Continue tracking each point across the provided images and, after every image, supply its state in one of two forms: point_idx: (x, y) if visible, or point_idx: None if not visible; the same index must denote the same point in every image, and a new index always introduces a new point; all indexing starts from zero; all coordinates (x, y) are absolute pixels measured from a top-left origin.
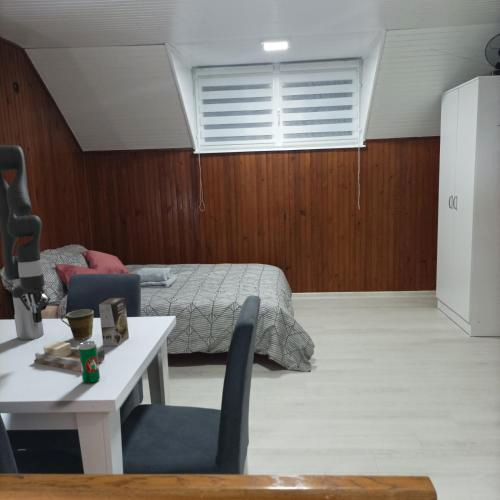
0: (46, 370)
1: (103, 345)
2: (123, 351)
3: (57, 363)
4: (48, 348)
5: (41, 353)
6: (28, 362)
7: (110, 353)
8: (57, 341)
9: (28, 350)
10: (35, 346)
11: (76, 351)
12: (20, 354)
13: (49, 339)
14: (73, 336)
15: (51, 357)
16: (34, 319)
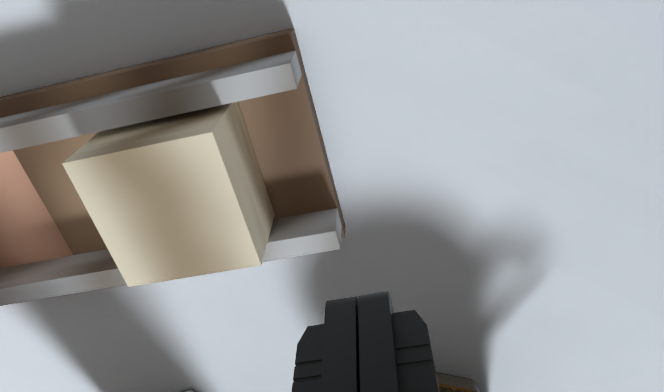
0: (54, 3)
1: (189, 390)
2: (21, 388)
3: (59, 99)
4: (150, 143)
5: (243, 97)
6: (347, 3)
7: (44, 349)
8: (258, 262)
9: (600, 133)
10: (619, 201)
11: (112, 261)
12: (589, 54)
13: (633, 311)
14: (463, 389)
15: (102, 103)
16: (364, 328)
